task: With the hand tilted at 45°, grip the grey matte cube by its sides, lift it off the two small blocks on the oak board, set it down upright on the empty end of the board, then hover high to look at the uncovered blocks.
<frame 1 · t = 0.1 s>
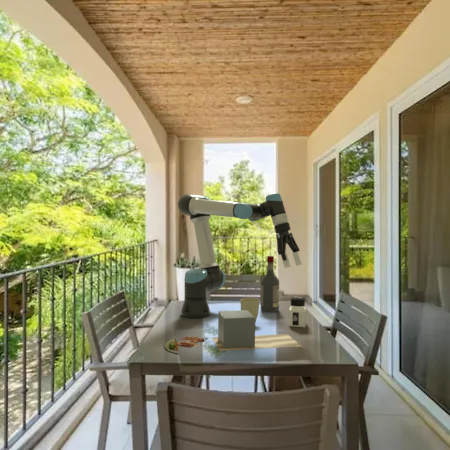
hand: (293, 266, 182), 28 cm above the table, tool tilted 20°, fingers open, 13 cm apart
liquor: (269, 310, 210), on the table
white block: (242, 342, 148), point 1 cm above the table, touching board
board: (255, 345, 149), on the table
food: (188, 348, 147), on the table
mug: (248, 324, 180), on the table
container: (297, 325, 181), on the table
grey matte cube: (235, 342, 147), point 1 cm above the table, touching board
terracotta block: (229, 342, 147), point 1 cm above the table, touching board
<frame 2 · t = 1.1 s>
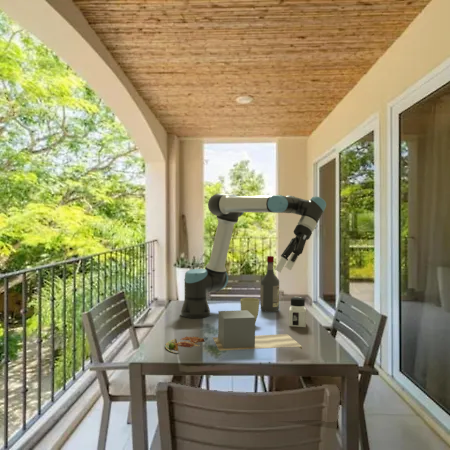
hand: (282, 269, 162), 28 cm above the table, tool tilted 35°, fingers open, 13 cm apart
nothing on the table moved.
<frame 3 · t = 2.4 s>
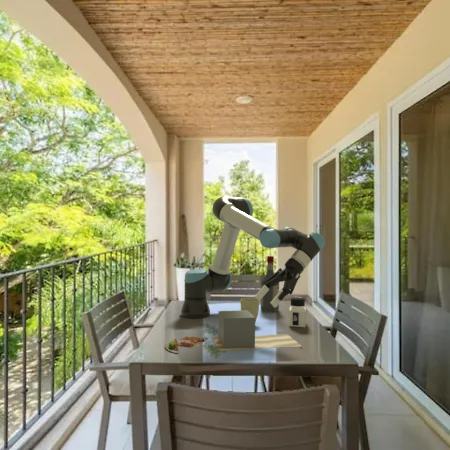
hand: (264, 302, 151), 17 cm above the table, tool tilted 45°, fingers open, 13 cm apart
nothing on the table moved.
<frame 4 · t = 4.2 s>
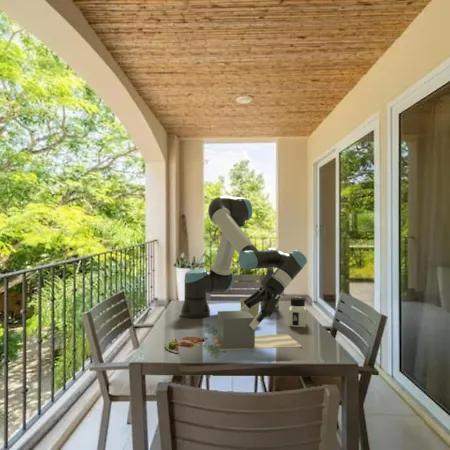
hand: (243, 323, 147), 9 cm above the table, tool tilted 45°, fingers open, 13 cm apart
grey matte cube: (235, 342, 147), point 1 cm above the table, touching board, gripper
everything else where it was.
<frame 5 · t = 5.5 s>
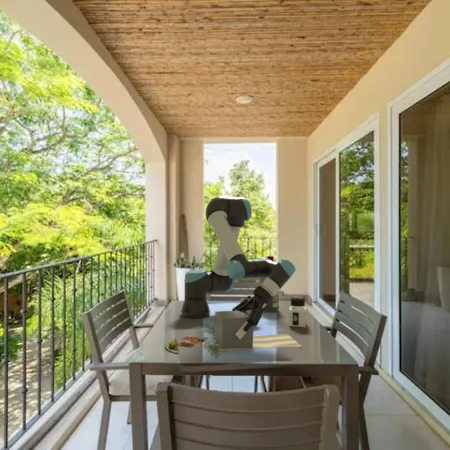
hand: (230, 332, 147), 6 cm above the table, tool tilted 45°, fingers open, 13 cm apart
white block: (241, 342, 148), point 1 cm above the table, touching board, grey matte cube
grey matte cube: (233, 342, 147), point 1 cm above the table, touching board, gripper, white block
everything else where it was.
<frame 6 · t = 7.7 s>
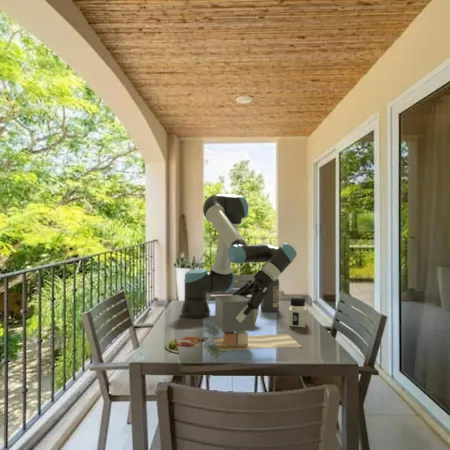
hand: (231, 316, 146), 12 cm above the table, tool tilted 45°, fingers closed on grey matte cube, 13 cm apart
white block: (241, 342, 148), point 1 cm above the table, touching board
grey matte cube: (233, 326, 147), point 8 cm above the table, touching gripper
everything else where it was.
when the fingers open (7 cm above the table, at t = 13.4 s): grey matte cube drops 1 cm, resting on board.
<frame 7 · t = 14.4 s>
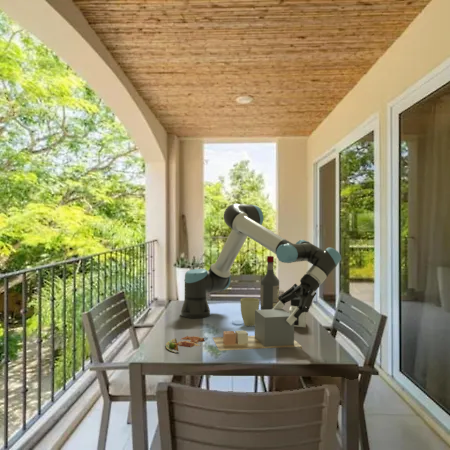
hand: (279, 318, 150), 10 cm above the table, tool tilted 45°, fingers open, 13 cm apart
grey matte cube: (273, 340, 150), point 2 cm above the table, touching board
everything else where it was.
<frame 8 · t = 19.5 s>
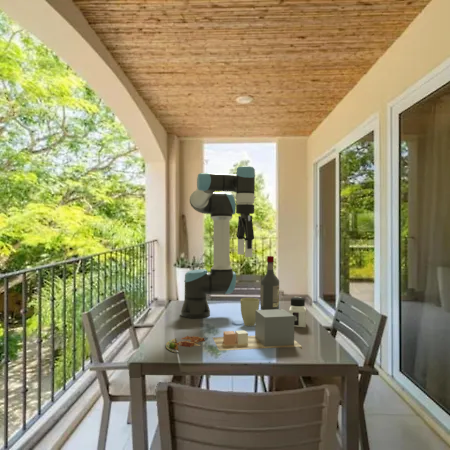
hand: (244, 255, 156), 35 cm above the table, tool pointing down, fingers open, 13 cm apart
nothing on the table moved.
at the end: grey matte cube inside the target area (0.5 cm from its centre), point 1.5 cm above the table; grey matte cube tilted 0°; the gripper is holding nothing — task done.
